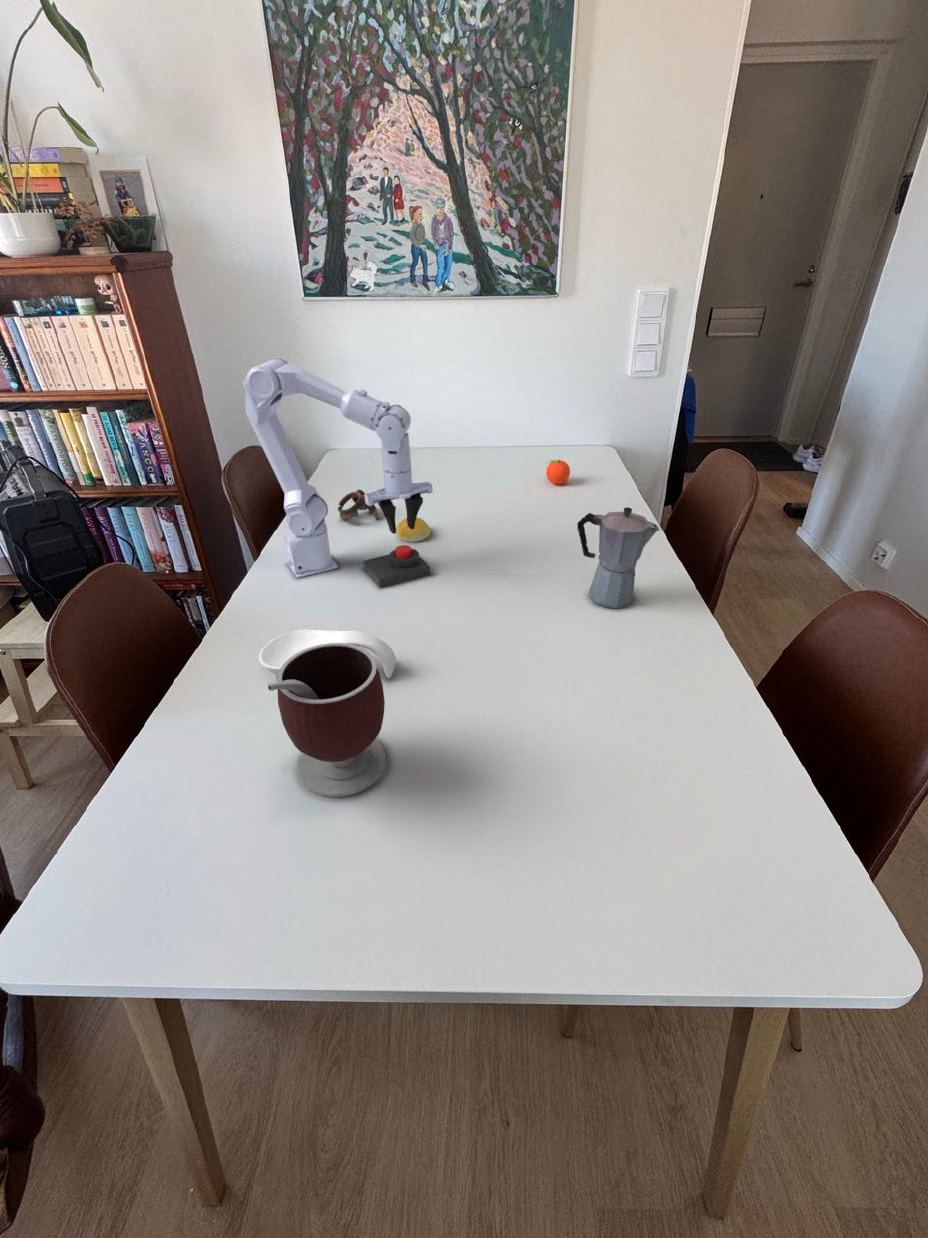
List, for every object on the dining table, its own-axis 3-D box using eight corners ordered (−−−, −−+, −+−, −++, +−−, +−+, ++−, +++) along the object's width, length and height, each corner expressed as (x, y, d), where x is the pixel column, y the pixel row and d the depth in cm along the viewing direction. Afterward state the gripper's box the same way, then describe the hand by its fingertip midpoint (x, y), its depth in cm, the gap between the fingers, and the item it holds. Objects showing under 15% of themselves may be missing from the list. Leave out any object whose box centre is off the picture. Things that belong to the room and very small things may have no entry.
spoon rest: (252, 684, 107) (243, 650, 103) (277, 645, 117) (270, 612, 113) (387, 692, 105) (383, 657, 101) (401, 651, 115) (398, 618, 111)
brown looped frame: (381, 525, 163) (364, 503, 157) (351, 540, 165) (332, 519, 159) (380, 497, 171) (364, 475, 165) (351, 512, 173) (334, 491, 167)
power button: (399, 560, 137) (399, 553, 136) (393, 554, 140) (392, 547, 139) (414, 557, 138) (414, 549, 138) (408, 550, 141) (407, 543, 140)
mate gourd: (347, 719, 99) (330, 612, 89) (410, 758, 92) (401, 647, 81) (265, 776, 89) (235, 664, 79) (329, 826, 82) (305, 709, 71)
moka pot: (648, 613, 124) (664, 520, 113) (569, 606, 127) (577, 514, 116) (646, 589, 132) (661, 500, 121) (572, 583, 135) (580, 495, 124)
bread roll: (401, 545, 152) (399, 530, 150) (395, 530, 159) (393, 515, 157) (434, 540, 154) (433, 525, 151) (426, 526, 161) (425, 511, 159)
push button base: (379, 588, 134) (378, 572, 132) (363, 569, 142) (362, 553, 140) (430, 575, 139) (429, 559, 137) (412, 557, 146) (411, 541, 144)
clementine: (539, 486, 183) (541, 462, 179) (544, 478, 189) (545, 454, 185) (567, 488, 181) (569, 464, 177) (570, 480, 187) (572, 456, 183)
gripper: (370, 481, 123) (377, 544, 130) (437, 468, 128) (440, 529, 136) (358, 470, 128) (365, 531, 135) (423, 458, 133) (426, 517, 141)
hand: (402, 529), depth 136 cm, fingers open, 4 cm apart
